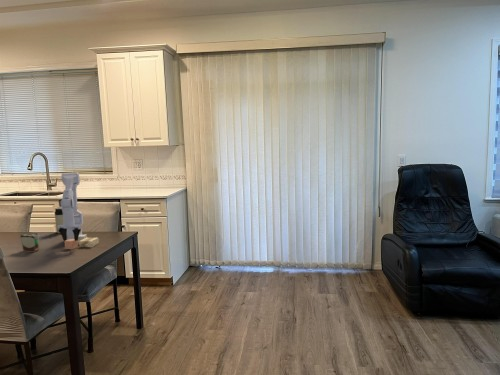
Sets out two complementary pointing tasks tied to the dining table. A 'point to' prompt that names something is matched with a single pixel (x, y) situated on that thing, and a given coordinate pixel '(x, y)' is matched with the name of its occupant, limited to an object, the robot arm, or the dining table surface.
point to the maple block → (89, 242)
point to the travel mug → (58, 217)
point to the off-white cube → (81, 237)
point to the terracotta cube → (71, 244)
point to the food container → (30, 242)
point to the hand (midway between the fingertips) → (70, 240)
